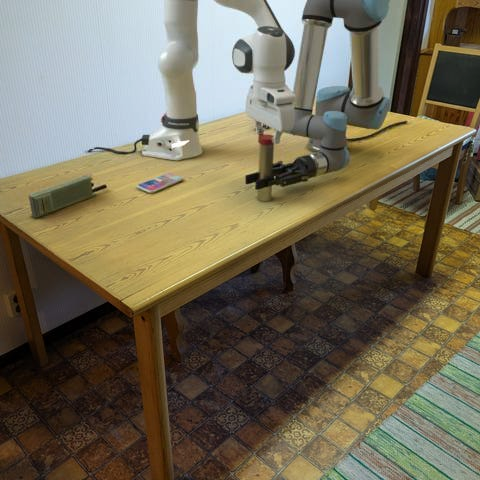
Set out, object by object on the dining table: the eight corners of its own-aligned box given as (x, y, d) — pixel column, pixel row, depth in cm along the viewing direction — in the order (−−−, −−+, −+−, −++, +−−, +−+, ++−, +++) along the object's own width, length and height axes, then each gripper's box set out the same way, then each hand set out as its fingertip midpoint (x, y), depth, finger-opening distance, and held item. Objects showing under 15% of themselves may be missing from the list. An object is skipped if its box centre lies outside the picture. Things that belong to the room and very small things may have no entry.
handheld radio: (30, 215, 144) (102, 188, 161) (37, 219, 142) (109, 191, 159) (26, 193, 140) (100, 168, 157) (33, 197, 138) (107, 171, 155)
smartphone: (184, 177, 167) (150, 191, 157) (184, 180, 167) (151, 194, 157) (168, 171, 171) (134, 185, 161) (168, 174, 171) (135, 188, 161)
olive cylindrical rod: (255, 196, 157) (257, 136, 148) (268, 195, 158) (271, 135, 149) (260, 202, 153) (262, 141, 144) (273, 200, 155) (276, 140, 145)
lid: (255, 140, 148) (256, 135, 148) (271, 139, 150) (272, 133, 149) (261, 145, 144) (261, 140, 143) (277, 144, 146) (278, 138, 145)
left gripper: (240, 84, 146) (240, 131, 153) (279, 100, 131) (277, 151, 138) (259, 82, 149) (258, 128, 156) (299, 97, 133) (296, 147, 140)
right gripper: (327, 186, 158) (268, 204, 145) (290, 169, 170) (234, 184, 158) (329, 163, 154) (269, 180, 142) (292, 147, 166) (234, 161, 154)
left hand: (267, 139), depth 147 cm, fingers open, 7 cm apart
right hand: (251, 182), depth 150 cm, fingers closed on olive cylindrical rod, 4 cm apart
